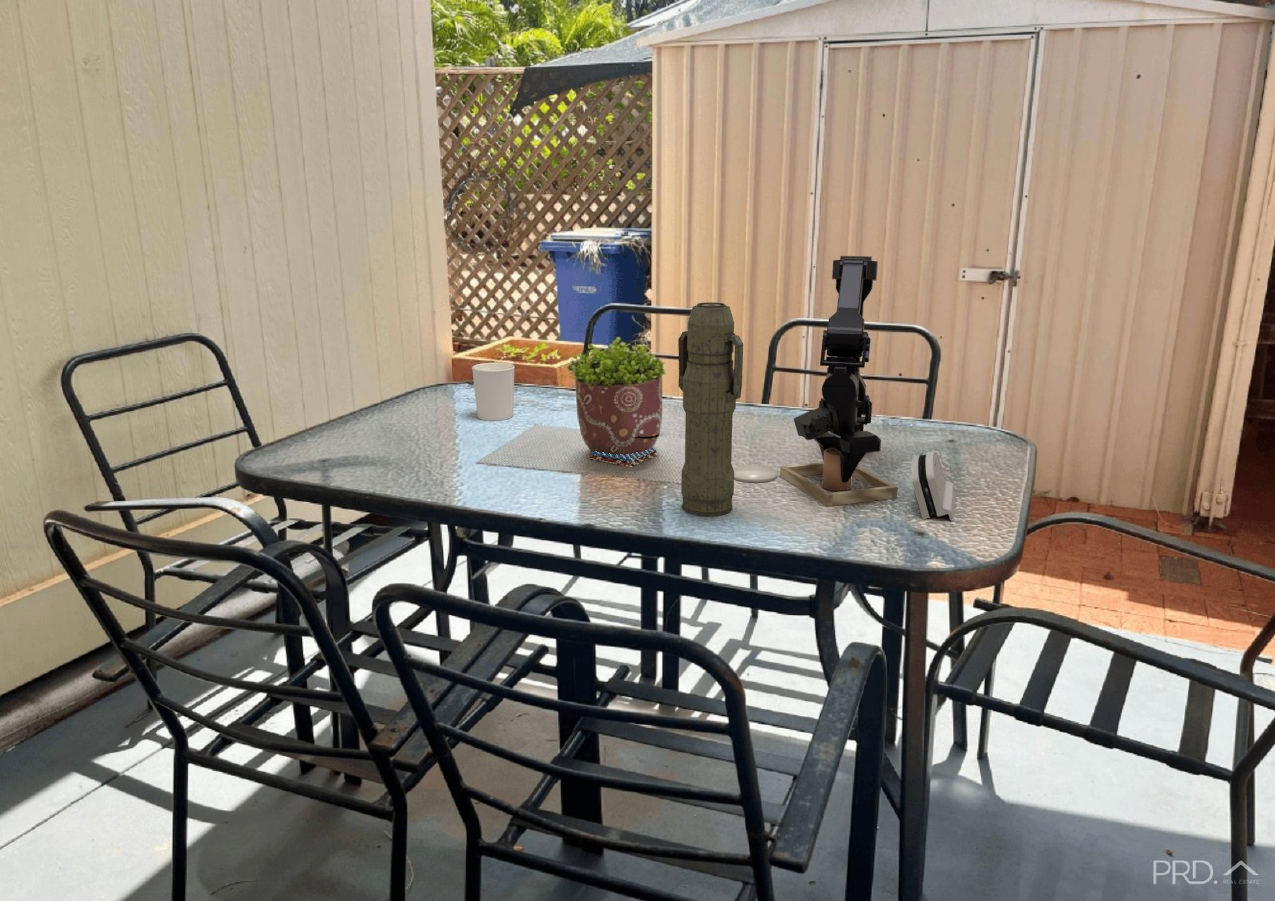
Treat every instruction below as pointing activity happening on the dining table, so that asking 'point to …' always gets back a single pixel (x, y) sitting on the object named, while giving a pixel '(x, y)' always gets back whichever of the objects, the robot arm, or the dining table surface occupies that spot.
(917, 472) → the light grey slab casing
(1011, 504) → the dining table surface
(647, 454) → the woven mat
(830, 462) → the terracotta pot
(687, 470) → the thermos
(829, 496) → the wooden frame
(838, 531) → the dining table surface
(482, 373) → the light grey cup
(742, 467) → the cream saucer
